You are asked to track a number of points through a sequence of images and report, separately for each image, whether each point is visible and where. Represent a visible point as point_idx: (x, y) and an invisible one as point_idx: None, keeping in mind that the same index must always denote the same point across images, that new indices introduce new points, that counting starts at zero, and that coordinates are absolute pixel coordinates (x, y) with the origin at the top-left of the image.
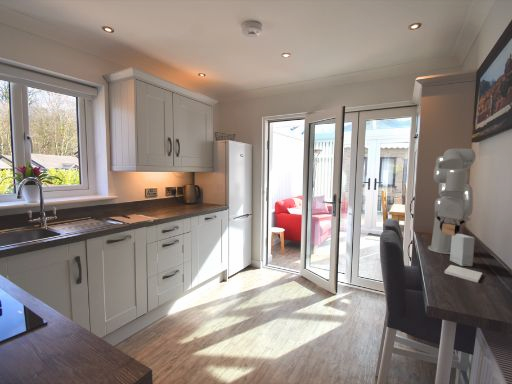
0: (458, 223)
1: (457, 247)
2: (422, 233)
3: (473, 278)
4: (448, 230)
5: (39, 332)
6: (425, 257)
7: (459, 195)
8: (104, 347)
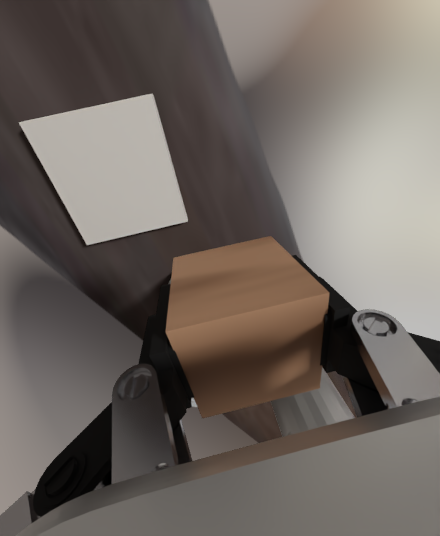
0: (137, 398)
1: None
2: None
3: (37, 121)
4: (226, 267)
5: None
6: (284, 237)
7: None
8: None
